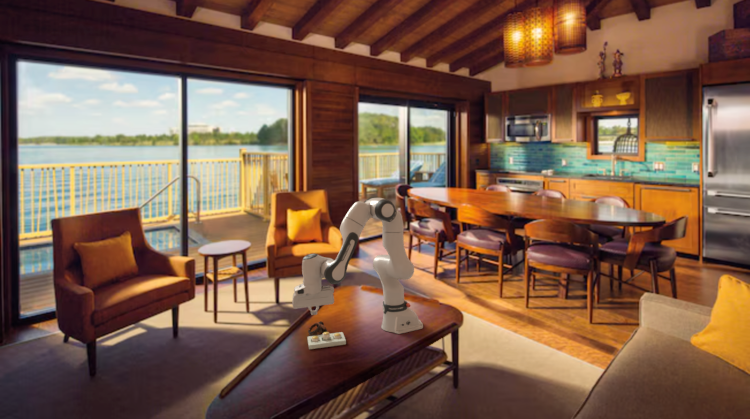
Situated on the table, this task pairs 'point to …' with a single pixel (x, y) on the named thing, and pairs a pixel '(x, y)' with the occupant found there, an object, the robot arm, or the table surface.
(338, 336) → the button
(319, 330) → the pottery mug
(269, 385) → the table surface
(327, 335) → the button
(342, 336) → the button board
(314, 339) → the button
